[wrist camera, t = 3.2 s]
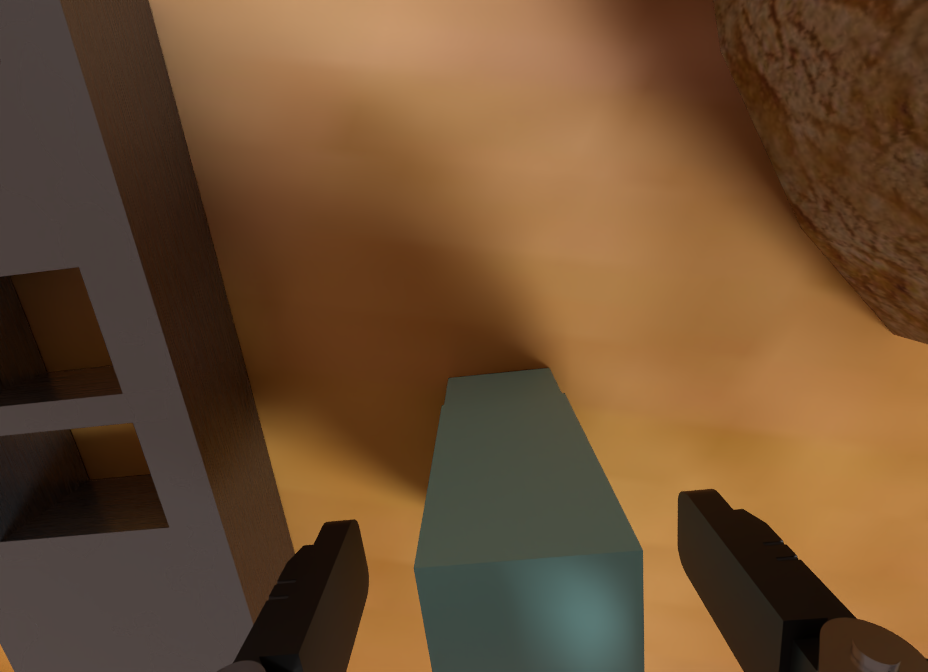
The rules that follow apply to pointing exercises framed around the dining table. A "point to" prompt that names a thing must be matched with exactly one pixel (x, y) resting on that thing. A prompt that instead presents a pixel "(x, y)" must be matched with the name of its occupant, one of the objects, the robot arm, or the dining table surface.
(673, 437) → the dining table surface
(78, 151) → the rail
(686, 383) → the dining table surface
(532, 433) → the teal block
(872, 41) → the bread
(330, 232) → the dining table surface
